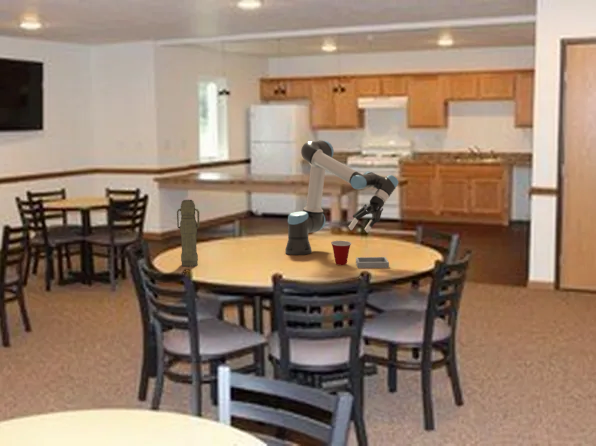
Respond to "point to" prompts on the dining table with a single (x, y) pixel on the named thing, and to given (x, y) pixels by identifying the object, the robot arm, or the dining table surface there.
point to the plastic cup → (341, 251)
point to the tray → (372, 262)
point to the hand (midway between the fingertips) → (357, 229)
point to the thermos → (188, 233)
